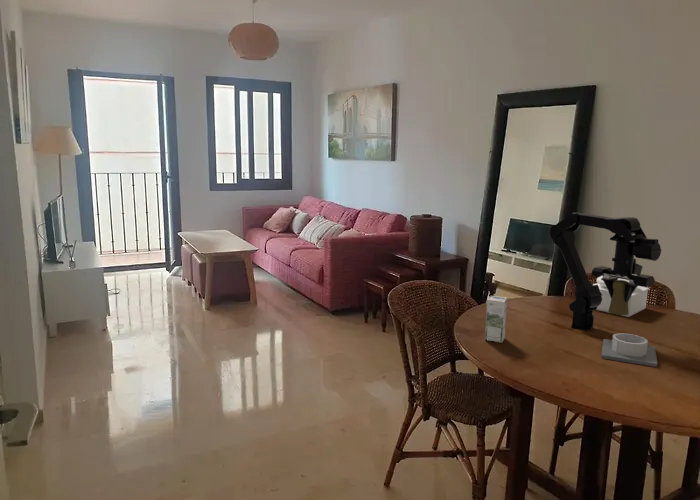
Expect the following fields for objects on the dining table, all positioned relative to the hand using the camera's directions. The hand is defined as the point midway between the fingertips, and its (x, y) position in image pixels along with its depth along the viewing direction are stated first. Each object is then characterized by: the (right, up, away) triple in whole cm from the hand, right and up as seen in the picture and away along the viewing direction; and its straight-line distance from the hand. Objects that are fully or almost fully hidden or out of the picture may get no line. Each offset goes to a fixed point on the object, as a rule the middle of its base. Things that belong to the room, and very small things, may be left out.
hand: (619, 300), depth 181 cm
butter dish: (+17, -7, +37) cm, 41 cm away
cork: (0, -4, +1) cm, 4 cm away
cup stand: (-3, -15, -12) cm, 20 cm away
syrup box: (-42, -13, 0) cm, 44 cm away
